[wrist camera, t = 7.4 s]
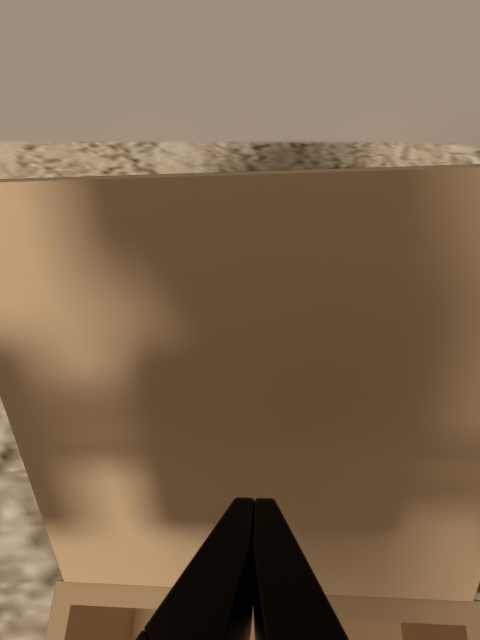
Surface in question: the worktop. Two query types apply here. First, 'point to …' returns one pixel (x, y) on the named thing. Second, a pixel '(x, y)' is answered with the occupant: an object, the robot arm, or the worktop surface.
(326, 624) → the robot arm
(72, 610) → the carton
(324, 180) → the lid flap
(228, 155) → the worktop surface
